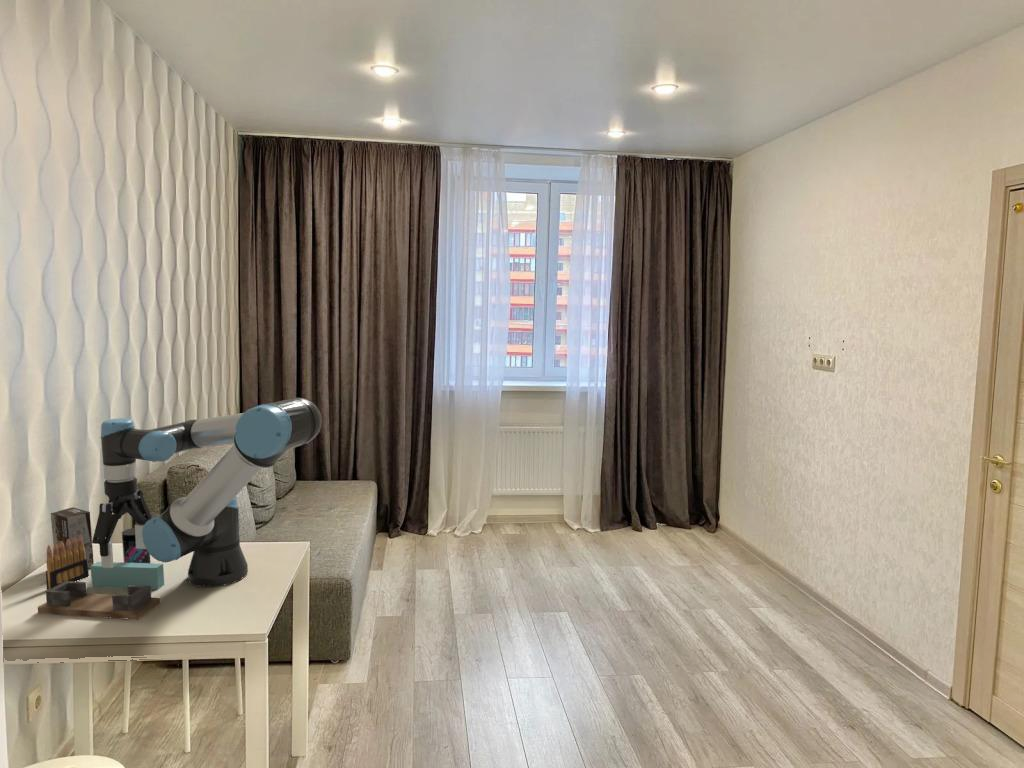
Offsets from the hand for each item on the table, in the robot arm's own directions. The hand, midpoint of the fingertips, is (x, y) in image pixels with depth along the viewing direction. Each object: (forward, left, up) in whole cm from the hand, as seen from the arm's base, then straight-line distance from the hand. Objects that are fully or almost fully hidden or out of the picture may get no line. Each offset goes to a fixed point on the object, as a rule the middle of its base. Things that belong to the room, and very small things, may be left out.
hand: (125, 557), depth 193 cm
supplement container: (+6, -12, -8) cm, 16 cm away
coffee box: (+23, -9, -8) cm, 26 cm away
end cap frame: (-2, +14, -8) cm, 16 cm away
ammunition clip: (+17, +1, -8) cm, 18 cm away
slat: (0, 0, -8) cm, 8 cm away
